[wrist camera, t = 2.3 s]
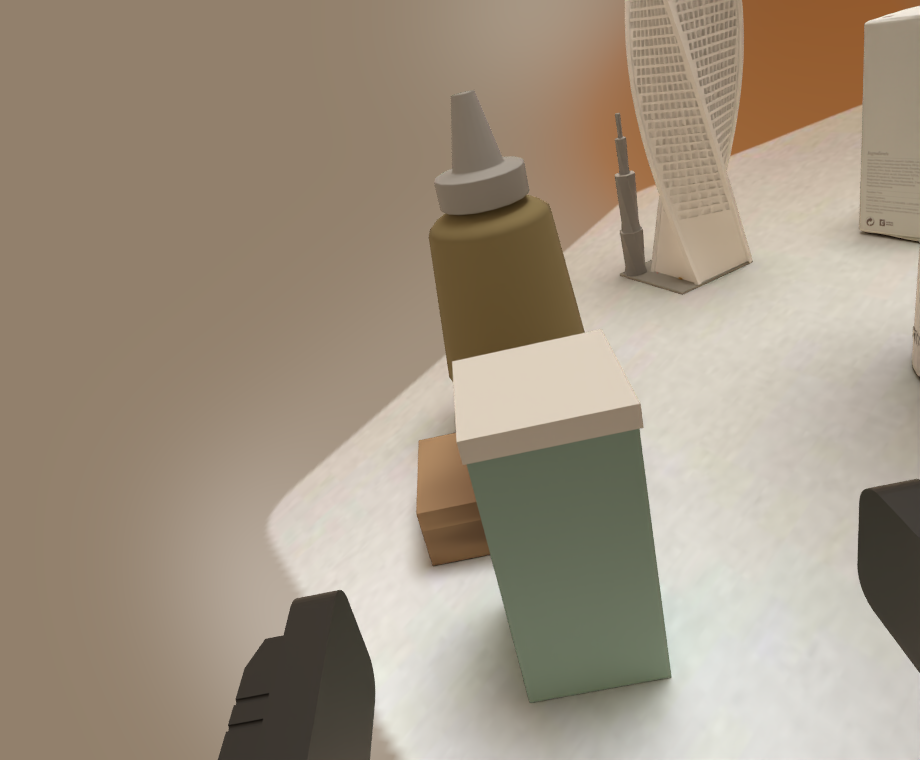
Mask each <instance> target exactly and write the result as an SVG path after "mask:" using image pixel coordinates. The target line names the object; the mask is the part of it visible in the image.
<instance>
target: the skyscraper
mask: <svg viewBox="0 0 920 760" xmlns="http://www.w3.org/2000/svg"><path fill="white" fill-rule="evenodd" d="M625 36H626V51H627V62H628V71H629V78H630V84H631V92H632V96H633V102H634V107H635V112H636V116H637V120H638V125H639V129H640V133H641V137H642V141H643V144H644V147H645V151H646V155H647V158H648V162H649V165H650V168H651V171H652V174H653V177H654V180H655V183H656V186H657V189H658V192H659V202H658V211H657V220H656V228H655V237H654V246H653V255H652V260H650V261H648V262H646V263H645V258H644V240H643V229H642V227H641V226H640V224H639V219H638V207H637V195H636V183H635V173H634V172H633V171H629V167H628V156H627V144H626V137H623V136H622V128H621V118H620V113H616V114H615V117H616V125H617V132H618V138H616V139H615V143H616V149H617V156H618V163H619V173H618V174H615V181H616V187H617V194H618V201H619V208H620V215H621V221H622V230H620V235H621V241H622V248H623V254H624V260H625V266H626V267H625V272H623V273H621V274H620V276H623V277H626V278H629V279H633V280H636V281H639V282H642V283H646V284H649V285H652V286H656V287H659V288H662V289H666V290H669V291H672V292H676V293H679V294H682V295H683V294H685V293H687V292H689V291H691V290H694V289H696V288H698V287H700V286H702V285H704V284H706V283H709V282H711V281H713V280H715V279H717V278H719V277H721V276H724V275H726V274H728V273H730V272H732V271H734V270H736V269H739V268H741V267H743V266H745V265H747V264H749V263H751V262H752V257H751V253H750V250H749V246H748V243H747V239H746V236H745V232H744V229H743V225H742V222H741V219H740V215H739V212H738V208H737V205H736V201H735V198H734V195H733V191H732V188H731V184H730V181H729V178H728V174H727V167H728V162H729V158H730V154H731V148H732V143H733V138H734V132H735V128H736V121H737V115H738V108H739V101H740V92H741V83H742V68H743V45H744V43H743V42H744V38H743V37H744V31H743V8H742V0H625Z"/></svg>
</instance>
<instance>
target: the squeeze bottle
mask: <svg viewBox="0 0 920 760" xmlns="http://www.w3.org/2000/svg"><path fill="white" fill-rule="evenodd" d="M451 126H452V127H451V128H452V169H450V170H448V171H446V172H443V173H442V174H440V175H439V176H438V177H436V179H435V183H434V184H435V188H436V193H437V197H438V201H439V205H440V209H441V211H442V212H444V213H445V214H444V215H443V216H442V217H440V218H439V219H438V220H437V221H436V223H435V224H434V225H433V227H432V228H431V229H430V233H429V241H430V248H431V255H432V261H433V268H434V276H435V283H436V289H437V296H438V303H439V309H440V317H441V323H442V330H443V337H444V344H445V351H446V358H447V364H448V371H449V377H450V379H451V380H452V382H453V368H452V361H457V360H462V359H466V358H471V357H475V356H480V355H485V354H489V353H494V352H498V351H503V350H508V349H512V348H517V347H521V346H526V345H531V344H535V343H540V342H544V341H549V340H554V339H558V338H563V337H567V336H572V335H577V334H581V333H585V332H584V328H583V325H582V321H581V317H580V314H579V310H578V306H577V303H576V299H575V295H574V292H573V288H572V285H571V281H570V277H569V274H568V270H567V266H566V263H565V259H564V255H563V252H562V248H561V244H560V241H559V237H558V233H557V230H556V226H555V222H554V219H553V215H552V212H551V208H550V206H549V204H547V203H546V202H544V201H543V200H540V199H539V198H536V197H533V196H530V195H527V194H528V192H529V186H528V181H527V176H526V170H525V164H524V160H523V159H522V158H518V157H502V155H501V153H500V150H499V148H498V146H497V143H496V141H495V139H494V136H493V134H492V131H491V129H490V127H489V124H488V122H487V120H486V117H485V115H484V112H483V110H482V108H481V105H480V103H479V100H478V98H477V96H476V93H475V91H474V90H471V91H465V92H461V93H458V94H455V95H452V96H451Z"/></svg>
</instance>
